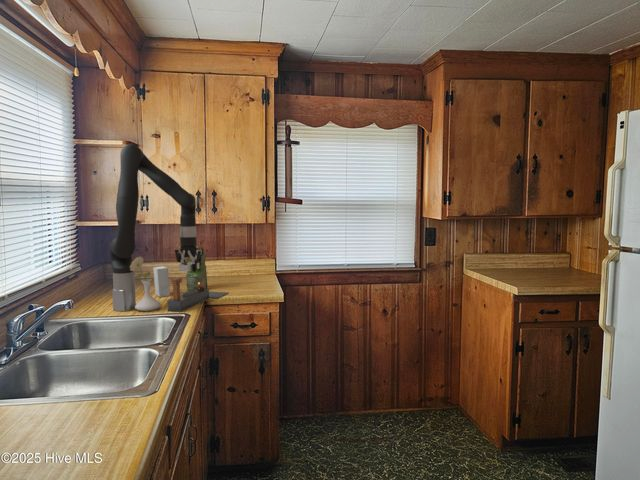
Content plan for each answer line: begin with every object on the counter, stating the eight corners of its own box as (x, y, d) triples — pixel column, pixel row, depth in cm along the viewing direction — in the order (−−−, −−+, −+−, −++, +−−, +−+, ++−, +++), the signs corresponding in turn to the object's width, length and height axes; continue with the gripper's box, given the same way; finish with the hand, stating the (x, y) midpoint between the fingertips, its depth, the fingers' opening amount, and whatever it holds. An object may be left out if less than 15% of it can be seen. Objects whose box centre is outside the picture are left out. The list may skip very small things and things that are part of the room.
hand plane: (180, 312, 214) (179, 280, 213) (167, 311, 216) (166, 279, 214) (209, 299, 239) (208, 270, 238) (197, 298, 241) (196, 270, 239)
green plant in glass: (207, 291, 258) (206, 245, 255) (184, 292, 255) (182, 245, 253) (207, 287, 269) (206, 242, 266) (185, 288, 266) (183, 243, 264)
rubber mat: (217, 298, 240) (217, 297, 240) (196, 297, 243) (196, 296, 243) (228, 293, 251) (228, 292, 251) (208, 292, 255) (208, 291, 255)
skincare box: (170, 296, 247) (169, 267, 245) (158, 297, 243) (157, 268, 242) (165, 293, 254) (164, 265, 252) (154, 294, 250) (153, 266, 249)
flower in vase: (152, 305, 227) (150, 253, 225) (166, 309, 220) (163, 255, 217) (126, 310, 217) (123, 256, 215) (139, 314, 210) (136, 258, 207)
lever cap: (188, 271, 221) (187, 262, 221) (178, 271, 222) (178, 262, 222) (199, 268, 231) (199, 259, 230) (190, 267, 232) (189, 259, 232)
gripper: (170, 236, 223) (171, 272, 225) (197, 237, 219) (198, 273, 221) (179, 234, 230) (180, 269, 232) (206, 235, 226) (206, 271, 228)
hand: (189, 271), depth 227 cm, fingers closed on lever cap, 5 cm apart
